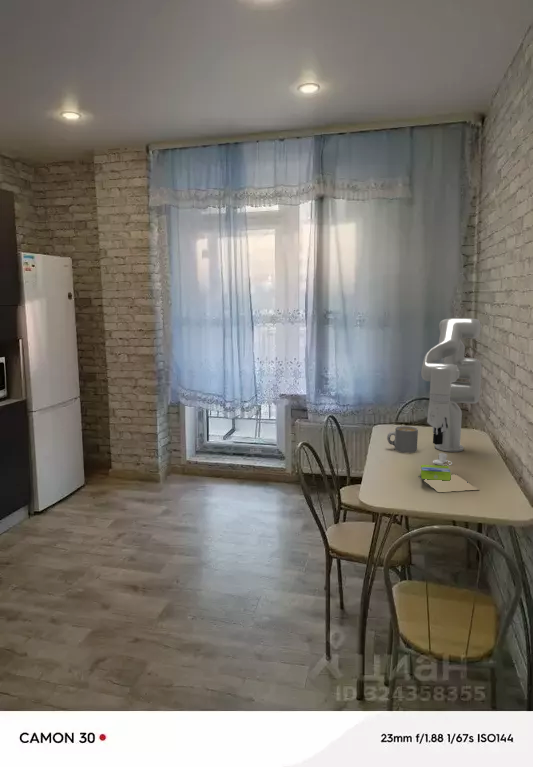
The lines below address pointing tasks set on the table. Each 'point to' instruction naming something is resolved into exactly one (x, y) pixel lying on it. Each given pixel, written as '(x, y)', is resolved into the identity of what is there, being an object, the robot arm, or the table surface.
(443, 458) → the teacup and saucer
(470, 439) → the table surface
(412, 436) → the coffee mug
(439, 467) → the box
